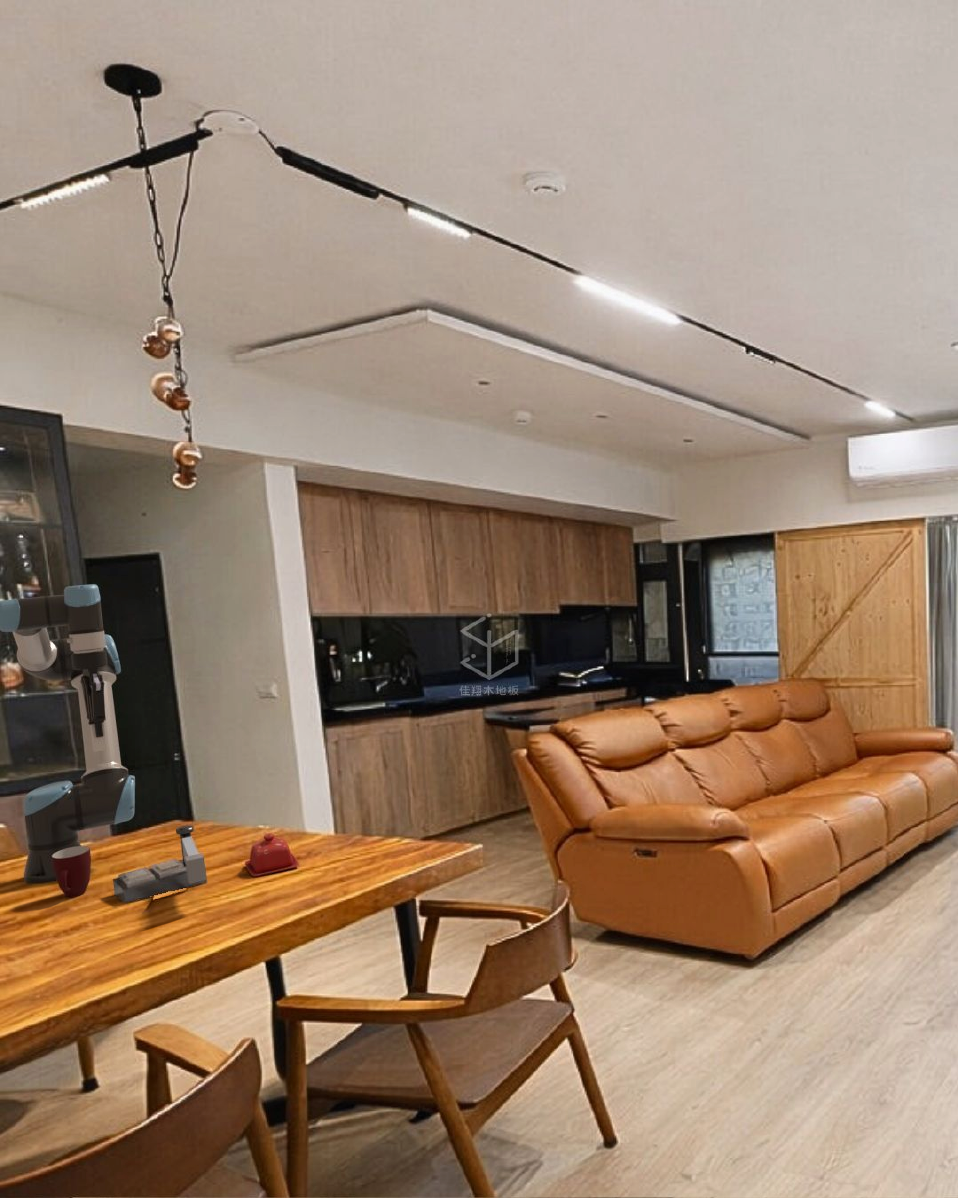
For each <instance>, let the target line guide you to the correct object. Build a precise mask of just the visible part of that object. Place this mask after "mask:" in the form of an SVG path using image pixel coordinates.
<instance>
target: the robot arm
mask: <svg viewBox="0 0 958 1198" xmlns="http://www.w3.org/2000/svg"><path fill="white" fill-rule="evenodd" d="M99 589H100V588H99V587H98V585H97V584H95V583H93V584H91V583H90V584H81V585H71V586H66V587H65V588H64V589H63V594H57V595H47V596H36V597H24V598H10V599H5V600H1V601H0V632H3V633H5V632H6V633H12V635H13V638H14V640H15V643H16V645H17V651H16V659H17V662H18V663H19V664H18V665H19V666H20V668H22V670H23V671H25V672H26V673H27V674H29V675H31V676H33V677H35V678H38V679H40V680H45V681H50V682H63V681H69V680H70V684H71V686H72V687H73V688H74V689H76V690H77V692H78V693H77V694H78V702H79V704H78V705H79V713H80V719H81V720H80V722H81V723H80V724H81V730H82V740H83V749H84V750H83V751H84V759H85V768H86V769H85V770H86V771H85V772H84V773H83V774H82V776H81V778H80V782H81V784H77V785H73V783H72V781H70V780H62V781H55V782H52V783H49V784H46V785H43V786H40V787H37V788H34V789H33V790H31V791H30V792H28V793H27V794H26V795H25V796H24V798H23V801H22V802H23V803H22V804H23V812H22V813H23V816H24V821H25V830H26V840H27V841H26V842H27V847H28V848H27V849H28V854H27V859H26V862H25V867H24V872H23V878H24V879H23V880H24V883H26V884H33V885H35V884H36V885H37V884H38V885H39V884H47V883H54V882H57V879H56V875H55V872H54V869H53V864H52V855H53V854H54V853H56V852H58V851H60V850H63V849H66V848H70V847H76V846H82V845H81V842H80V841H79V834H78V832H79V831H84V830H89V829H90V830H91V829H94V828H100V827H105V826H110V825H117V824H120V823H123V822H128V821H130V820H132V819H133V817H134V815H135V803H136V801H135V795H136V794H135V793H136V792H135V789H136V777H135V775H131V774H129V769H128V768H127V767H125V766H123V765H122V762H121V753H120V746H119V745H120V744H119V737H118V736H119V735H118V728H117V721H116V711H115V703H114V697H113V696H114V695H113V689H112V688H113V687H112V686H113V684H114V683H115V682H116V680H117V675H118V674H120V673H121V671H122V669H121V663H120V658H119V654H118V651H117V646H116V643H115V640H114V639H113V637H112V636H111V635H109V634H105V630H104V624H103V612H102V611H103V610H102V603H101V599H102V598H101V594H100V590H99ZM65 626H67V628H68V634H69V635H68V637H67V638H66V637H65V638H59V639H50V636H49V632H48V628H56V627H57V628H58V627H65Z"/></svg>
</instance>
